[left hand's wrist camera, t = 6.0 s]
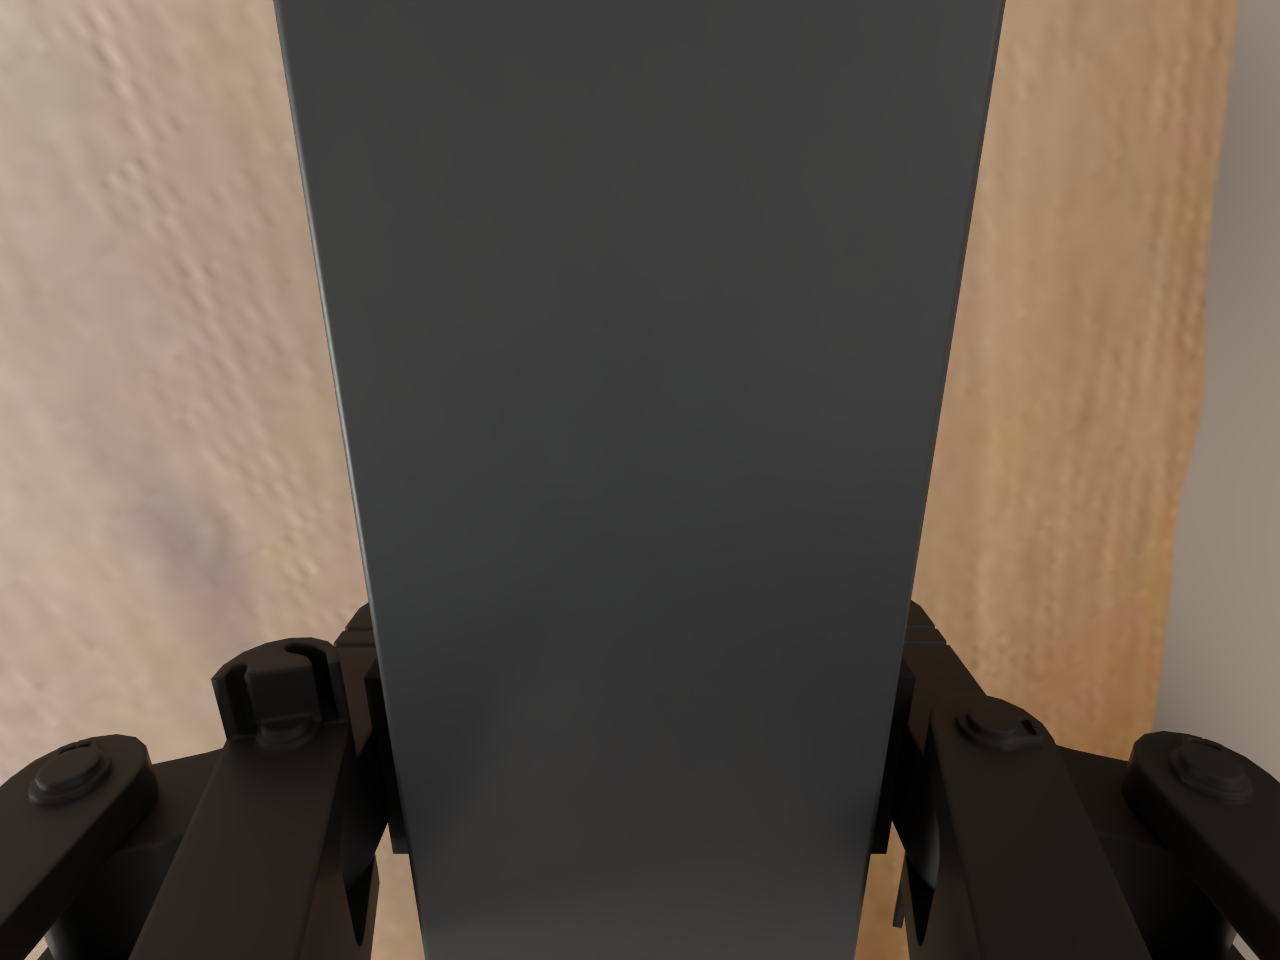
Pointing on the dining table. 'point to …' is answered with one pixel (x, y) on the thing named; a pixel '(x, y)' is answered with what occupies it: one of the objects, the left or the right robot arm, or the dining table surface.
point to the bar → (639, 438)
